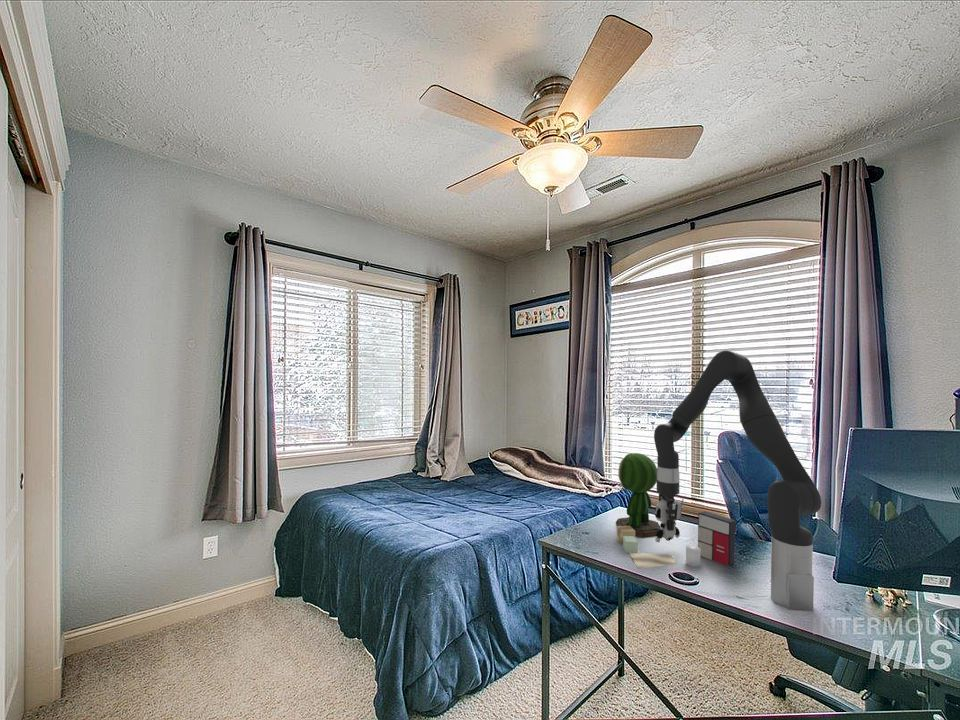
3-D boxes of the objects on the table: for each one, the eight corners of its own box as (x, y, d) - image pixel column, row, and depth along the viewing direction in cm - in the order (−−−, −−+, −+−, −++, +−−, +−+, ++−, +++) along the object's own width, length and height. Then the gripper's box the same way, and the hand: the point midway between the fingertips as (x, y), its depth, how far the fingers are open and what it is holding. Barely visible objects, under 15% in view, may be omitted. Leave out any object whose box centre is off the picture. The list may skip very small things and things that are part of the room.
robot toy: (674, 534, 163) (674, 494, 162) (684, 539, 159) (685, 498, 158) (648, 540, 158) (649, 498, 157) (658, 545, 154) (659, 502, 153)
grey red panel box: (696, 556, 154) (696, 512, 154) (703, 553, 156) (703, 510, 156) (728, 568, 145) (729, 522, 145) (735, 565, 147) (736, 520, 147)
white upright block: (702, 569, 144) (702, 551, 144) (688, 568, 145) (688, 550, 145) (697, 563, 149) (697, 545, 149) (683, 562, 149) (684, 544, 149)
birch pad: (683, 572, 142) (683, 571, 142) (637, 569, 143) (637, 568, 143) (671, 556, 154) (671, 554, 154) (629, 553, 155) (629, 552, 155)
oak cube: (635, 544, 163) (635, 531, 163) (621, 544, 163) (622, 531, 163) (629, 539, 168) (630, 525, 168) (616, 539, 168) (617, 526, 168)
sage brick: (637, 553, 156) (637, 542, 156) (625, 552, 156) (626, 541, 156) (634, 547, 161) (634, 536, 161) (622, 546, 161) (623, 535, 161)
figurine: (625, 516, 192) (626, 447, 191) (672, 529, 178) (673, 454, 178) (606, 527, 179) (606, 453, 179) (654, 541, 165) (655, 461, 165)
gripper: (686, 485, 150) (685, 535, 150) (672, 474, 165) (672, 520, 164) (663, 484, 151) (662, 534, 151) (651, 474, 165) (651, 519, 165)
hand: (667, 526), depth 158 cm, fingers closed on robot toy, 5 cm apart
